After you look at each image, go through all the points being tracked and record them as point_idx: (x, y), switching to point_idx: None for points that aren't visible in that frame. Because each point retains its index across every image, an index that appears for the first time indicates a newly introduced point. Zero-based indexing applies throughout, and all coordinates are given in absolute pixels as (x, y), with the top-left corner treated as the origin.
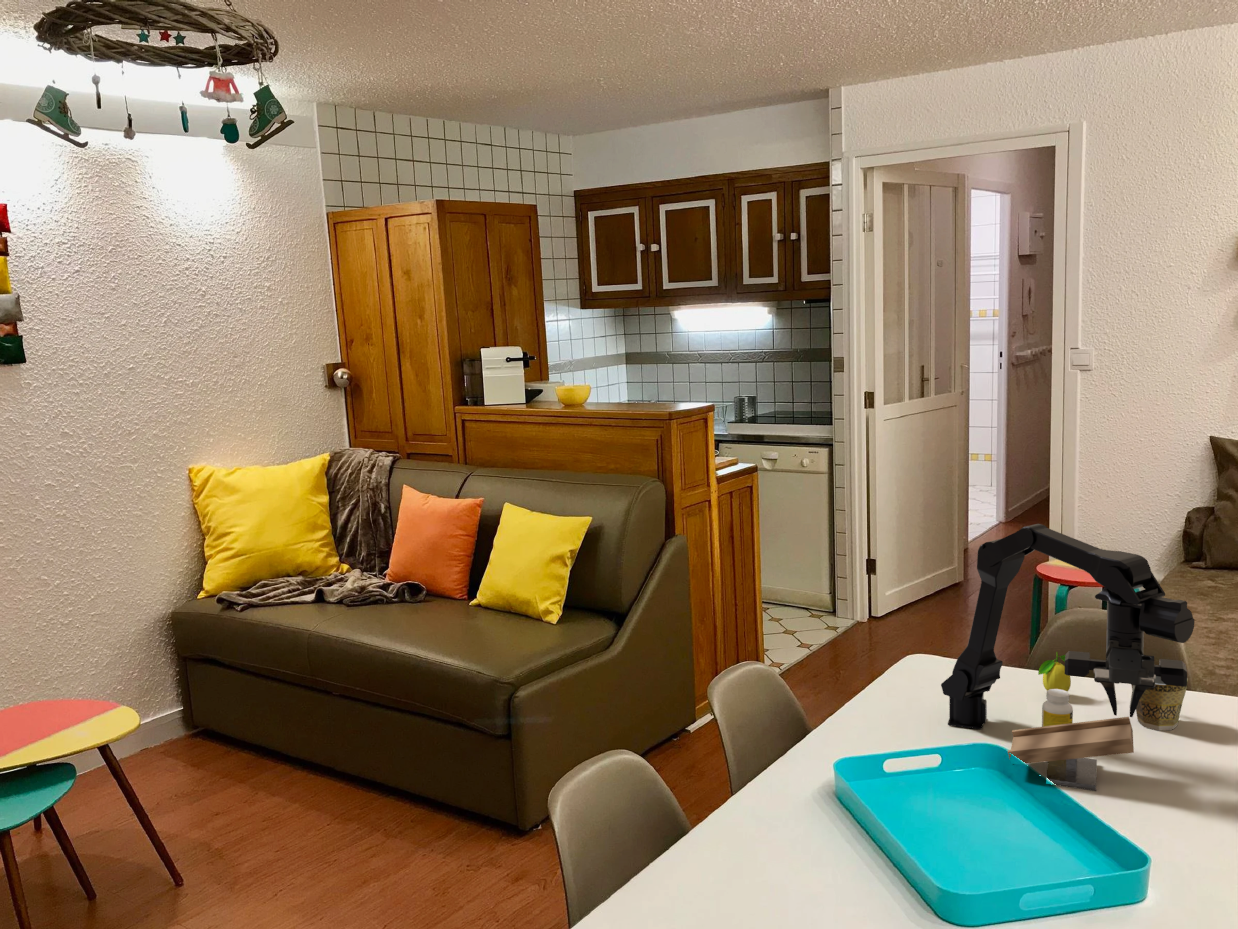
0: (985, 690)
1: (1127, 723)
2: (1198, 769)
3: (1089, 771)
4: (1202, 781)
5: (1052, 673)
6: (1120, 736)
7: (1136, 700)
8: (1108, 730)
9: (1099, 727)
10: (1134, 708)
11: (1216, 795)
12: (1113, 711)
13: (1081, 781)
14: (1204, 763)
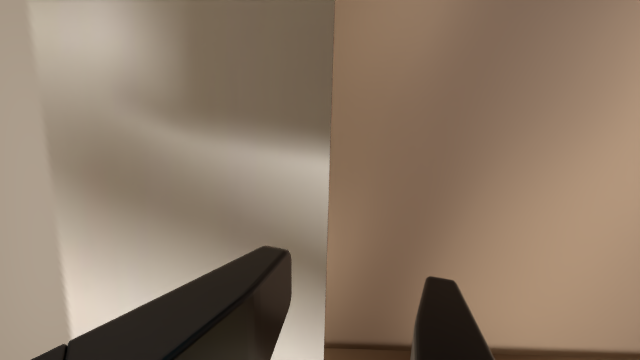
0: None
1: (343, 351)
2: (142, 246)
3: None
4: (123, 146)
5: None
6: (419, 136)
7: (85, 356)
8: (494, 281)
9: (546, 351)
10: (190, 290)
11: (67, 23)
12: (463, 303)
13: None
14: (129, 294)
